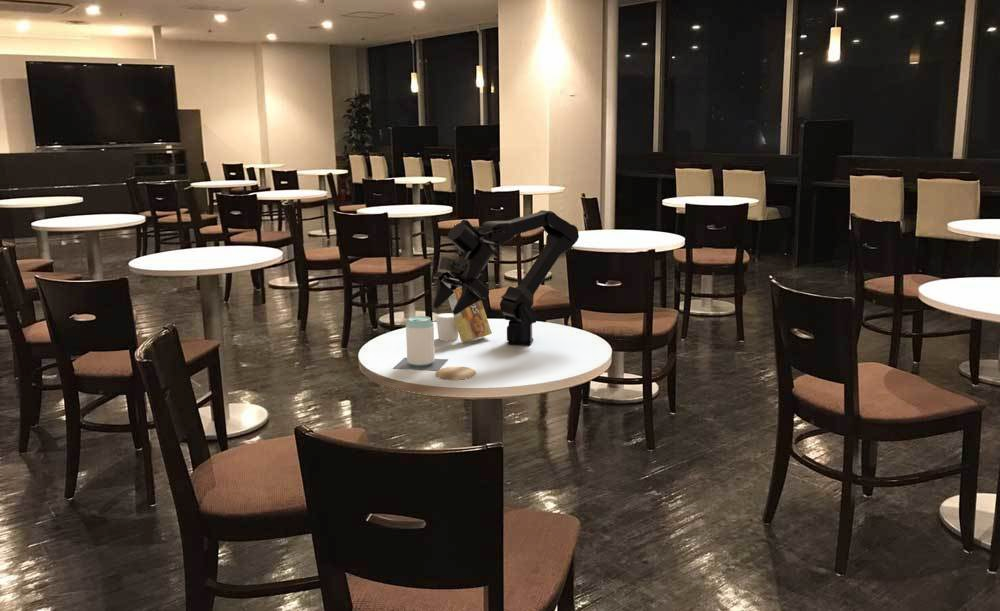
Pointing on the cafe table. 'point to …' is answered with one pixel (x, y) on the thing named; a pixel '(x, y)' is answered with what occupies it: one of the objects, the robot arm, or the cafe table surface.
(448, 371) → the cork coaster
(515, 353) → the cafe table surface
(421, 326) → the can
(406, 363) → the grey flat pad
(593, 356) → the cafe table surface
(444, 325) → the white cup
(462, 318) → the candy box
